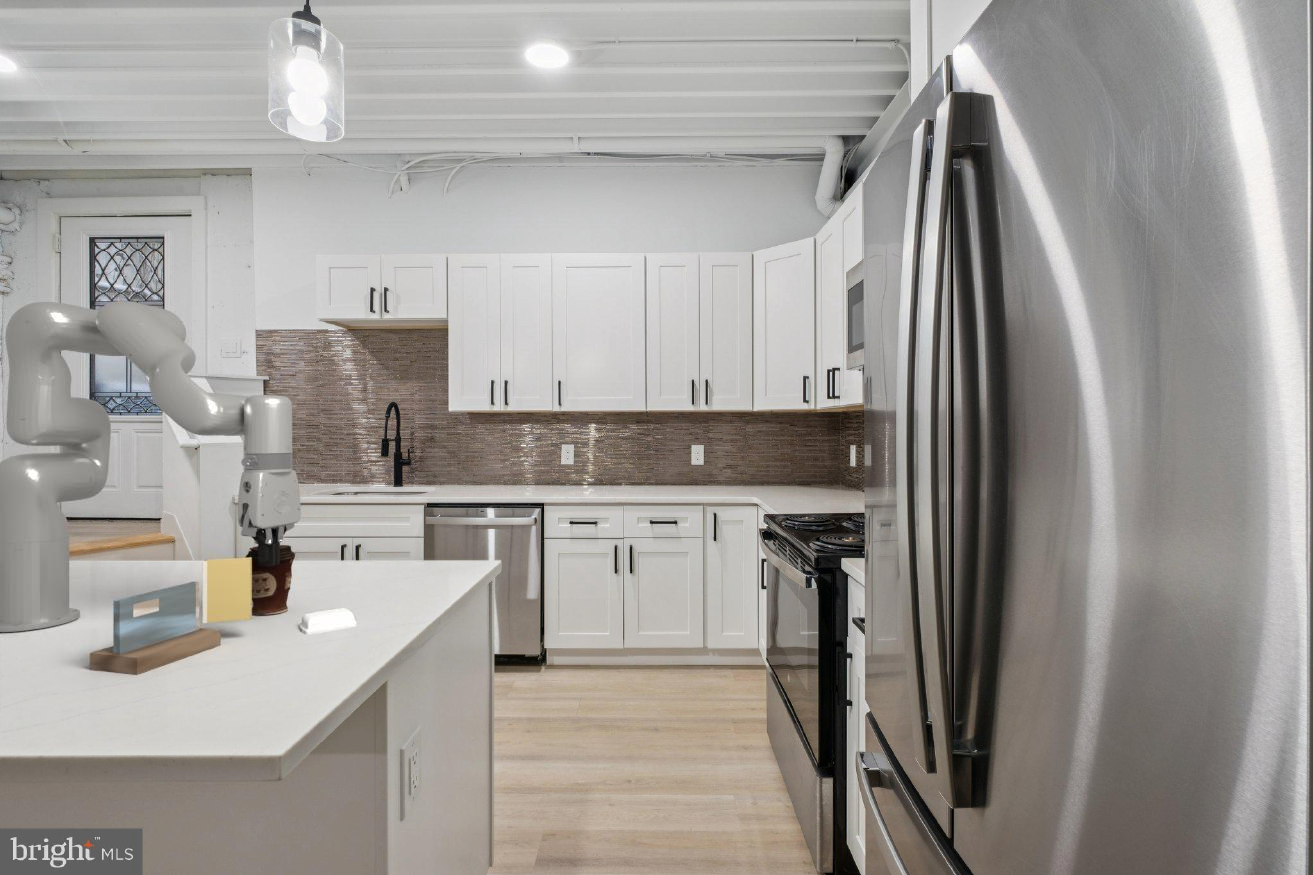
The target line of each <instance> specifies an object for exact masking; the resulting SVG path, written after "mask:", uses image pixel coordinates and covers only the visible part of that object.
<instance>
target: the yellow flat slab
mask: <svg viewBox="0 0 1313 875" xmlns="http://www.w3.org/2000/svg"><path fill="white" fill-rule="evenodd" d="M201 563H202V564H201V566H202V570H201V571H202V572H201V573H202V574H201V575H202V576H201V577H202V578H201V579H202V580H201V583H202V591H201V593H202V594H201V596H202V598H201V600H202V606H201V608H202V620H201V621H202V624H208V623H209V624H211V623H223V622H234V621H235V622H236V621H237V622H238V621H247V620H249V621H250V620H251V619H252V617H253V616H252V615H253V614H252V607H253V602H252V557H250V558H245V557H235V558H234V557H233V558H230V557H229V558H215V559H203V560H202V562H201Z"/></svg>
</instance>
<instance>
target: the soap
mask: <svg viewBox="0 0 1313 875" xmlns="http://www.w3.org/2000/svg"><path fill="white" fill-rule="evenodd" d="M357 625H358V624H357V620H355V616H354V614H353V612H352V611H351V610H349V609H348V608H345V607H342V608H333V609H328V610H319V611H315V612H309V613H305V614H303V615H302V617H301V622H300V623H299V630H300V631H301V633H303V634H304V635H315V634H322V633H327V632H333V631H338V630H344V629H350V628H354V627H357Z"/></svg>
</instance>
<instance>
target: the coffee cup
mask: <svg viewBox="0 0 1313 875" xmlns="http://www.w3.org/2000/svg"><path fill="white" fill-rule="evenodd" d="M250 557H252V615H257V616H258V615H263V616H264V615H267V616H268V615H277V614H282V613H285V612H288V611H289V607H288V605H287V602H288V598H289V592H290V590H291V583H292V577H293V574H292V573H293V572H292V570H293V569H292V567H293V566H292V565H293V562H294V560H295V557H296V552H294V551H292V546H291V545H289V544H288V545H287V544H280V564H279V565H274V566H259V565H258V545H257V546H253V547H249V550H248V552H247V554H246V556H244V558H250Z"/></svg>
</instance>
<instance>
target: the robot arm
mask: <svg viewBox="0 0 1313 875" xmlns="http://www.w3.org/2000/svg"><path fill="white" fill-rule="evenodd" d="M186 337H187V329H186V325H185V324H184V322H183V321H182V320H181V318H180V317H179V316H178V315H177V314H176V313H173V312H172V311H170V310H169V309H165V308H161V307H158V306H153V305H150V304H149V305H147V304H144V303H139V302H136V301H129V300H117V301H112V302H108V303H107V304H105V305H103V306H102V307H100V309H98V310H97V309H92V308H88V307H84V306H79V305H74V304H69V303H68V304H67V303H63V302H53V301H38V302H37V301H36V302H32V303H28V304H26V305H23V306H22V307H20V308H18V309H17V310H15V312H14V313H13V314H12V315H11V317H10V319H9V320H8V322H7V325H6V328H5V337H4V338H5V339H4V340H5V347H6V348H5V349H6V353H7V359H8V367H9V369H8V370H9V371H8V372H9V373H8V384H7V400H6V405H7V406H6V423H5V424H6V431H7V435H8V437H9V438H10V439H11V441H13V442H15V443H18V444H19V445H24V446H28V447H30V446H31V447H60V452H35V453H34V452H33V453H21V454H17V455H12V456H10V457H7V458H5V459H3V460H1V461H0V633H13V632H24V631H32V630H39V629H40V630H41V629H45V628H51V627H56V626H59V625H64V624H67V623H71V622H72V621H73V622H74V621H75V620H77V619H78V618H80V617H81V610H80V609H77V608H74V607H70V529H69V526H70V525H69V522H68V519H67V517H66V516H65V514H64V513H63V511H62V509H61V508H60V506H59V505H58V503H64V502H65V503H66V502H74V501H75V502H76V501H81V500H87V499H90V498H93V497H95V496H97V495H99V493H101V491H103V489H104V487H105V486H106V484H107V480H108V476H109V475H108V474H109V467H110V466H109V465H110V453H111V452H110V450H111V437H112V436H111V434H112V429H111V428H112V425H111V420H110V417H109V414H108V413H107V410H106V409H105V408H104V407H103V406H102V405H101V404H100V403H99V402H97V401H95V400H93V399H89V398H85V397H77V396H75V397H74V396H73V397H72V395H71V390H72V389H71V386H72V373H71V370H70V368H69V365H68V363H67V361H66V360H65V358H64V357H63V355H61V353H60V352H61V351H62V352H63V351H67V352H68V351H70V352H75V353H82V354H90V355H97V356H103V357H104V356H109V357H126V359H128V360H129V361H130V362H131V363H132V364H133V365H134V366H136V368H138V369H139V370H140V371H141V372H142V373H144V375H145V376H146V377H147V378H148V387H149V391H150V394H151V397H152V399H153V401H154V403H155V405H156V406H157V407H158V408H159V410H161V411H162V412H163V413H164V414H166V416H167V417H169V418H170V419H171V420H172V422H174V423H175V424H177V425H178V426H179V427H181V428H182V429H184V430H185V431H187V432H189V433H191V434H192V435H193V434H194V435H196V436H202V437H204V436H206V437H207V436H208V437H209V436H210V437H211V436H212V437H213V436H216V437H218V436H225V437H233V436H234V437H235V436H236V437H237V436H238V437H239V436H240V437H241V436H243V445H244V446H243V450H244V451H243V452H244V453H243V458H242V459H241V465H242V466H243V470H244V471H243V472H242V473H241V477H240V482H239V489H238V496H237V498H238V499H237V522H238V526H240V527H241V532H240V535H241V536H242V537H250V538H252V539H253V540H254V544H256V545H257V546H258V565H259V566H274V565H279V564H280V545H281V543H282V542H283V541H284V536H285V534H286V532H288V531H290V530H292V529H294V528H295V524H296V523H298V522H299V521H300V520H301V514H302V511H301V508H302V507H301V495H300V494H301V493H300V485H299V479H298V476H297V472H296V470H294V469H293V402H292V401H291V399H290V398H289V397H287V396H284V395H276V394H275V395H274V394H273V395H272V394H254V395H249V396H248V395H241V394H240V395H239V394H231V393H221V392H220V393H218V392H207V391H206V390H204V389H203V388H202V386H201V387H200V386H199V384H198V383H196V382H195V381H194V380H192V379H191V378H190V377H189V376H188V373H190V372H191V370H192V369H193V368H194V366H195V363H196V361H197V360H196V359H197V356H196V353H195V351H194V349H193V348H192V347H191V346H190V345H188V343H185V341H186V339H187V338H186Z"/></svg>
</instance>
